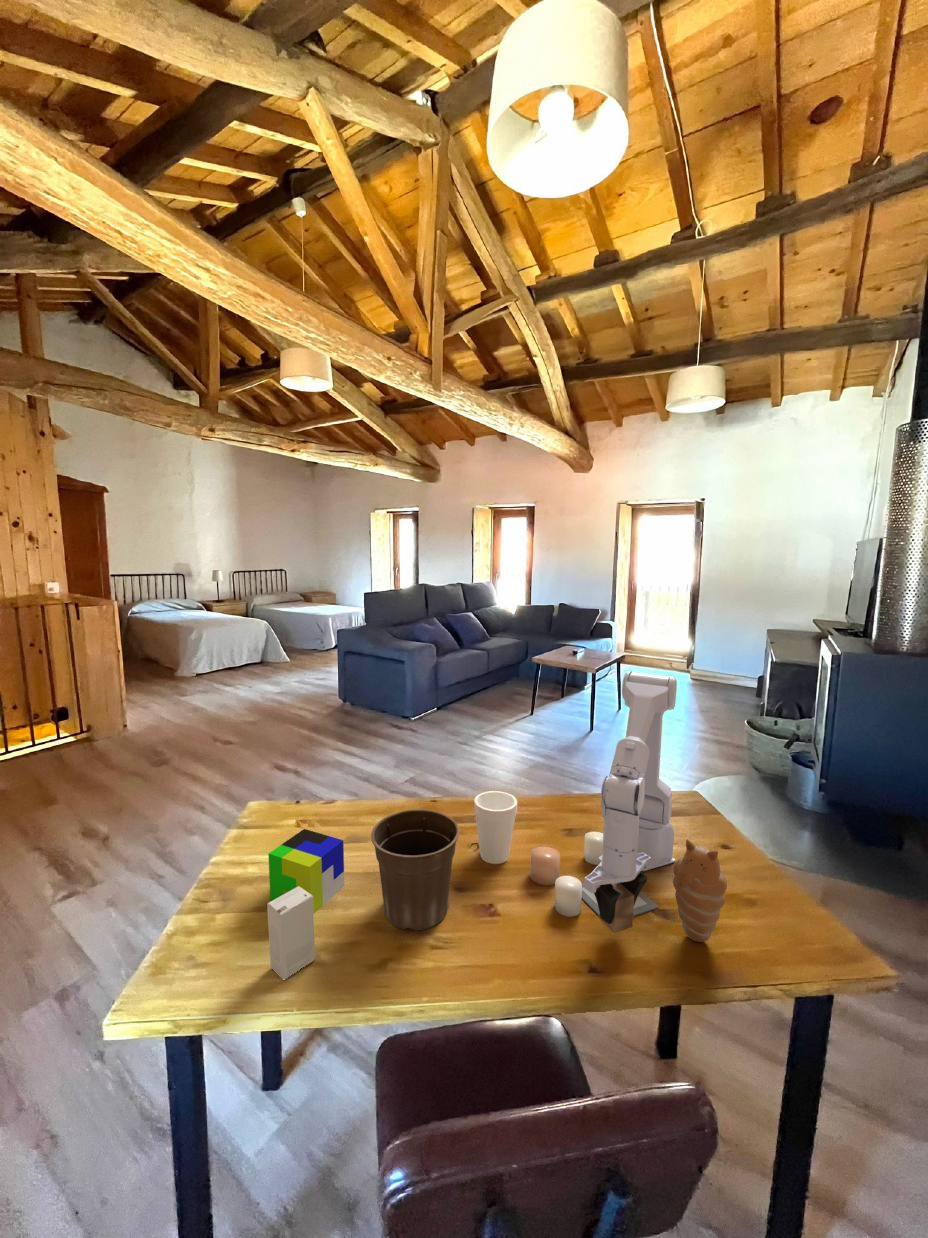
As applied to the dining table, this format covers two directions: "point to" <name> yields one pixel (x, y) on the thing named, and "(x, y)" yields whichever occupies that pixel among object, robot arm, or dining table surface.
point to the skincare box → (291, 932)
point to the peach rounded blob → (544, 865)
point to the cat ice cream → (699, 890)
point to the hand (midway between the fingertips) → (616, 915)
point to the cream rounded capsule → (568, 896)
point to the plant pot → (415, 866)
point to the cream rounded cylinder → (593, 847)
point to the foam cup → (495, 824)
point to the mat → (640, 907)
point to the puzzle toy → (308, 866)
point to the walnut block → (622, 910)
